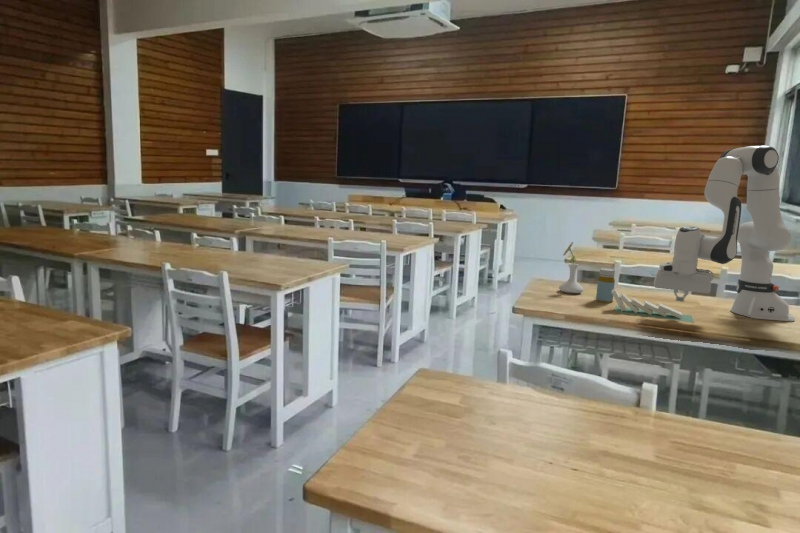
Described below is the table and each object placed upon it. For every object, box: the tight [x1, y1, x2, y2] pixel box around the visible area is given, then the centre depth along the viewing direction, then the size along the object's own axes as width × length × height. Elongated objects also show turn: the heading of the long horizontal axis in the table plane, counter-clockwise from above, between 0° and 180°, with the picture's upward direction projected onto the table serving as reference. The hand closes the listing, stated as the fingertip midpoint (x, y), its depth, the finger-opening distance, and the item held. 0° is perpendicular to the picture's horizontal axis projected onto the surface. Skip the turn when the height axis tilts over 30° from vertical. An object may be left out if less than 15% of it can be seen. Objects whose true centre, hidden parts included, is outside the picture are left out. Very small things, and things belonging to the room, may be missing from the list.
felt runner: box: [614, 305, 695, 324], centre depth 217 cm, size 29×12×1 cm, turn 66°
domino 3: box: [642, 299, 667, 317], centre depth 217 cm, size 2×5×9 cm
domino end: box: [611, 288, 627, 311], centre depth 222 cm, size 2×5×9 cm
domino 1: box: [619, 292, 640, 313], centre depth 220 cm, size 2×5×9 cm
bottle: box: [595, 267, 616, 304], centre depth 236 cm, size 7×7×15 cm
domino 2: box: [630, 296, 653, 315], centre depth 219 cm, size 2×5×9 cm
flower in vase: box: [558, 241, 584, 294], centre depth 253 cm, size 13×11×25 cm
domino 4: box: [656, 302, 683, 319], centre depth 215 cm, size 2×5×9 cm
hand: (679, 301), depth 213 cm, fingers closed
